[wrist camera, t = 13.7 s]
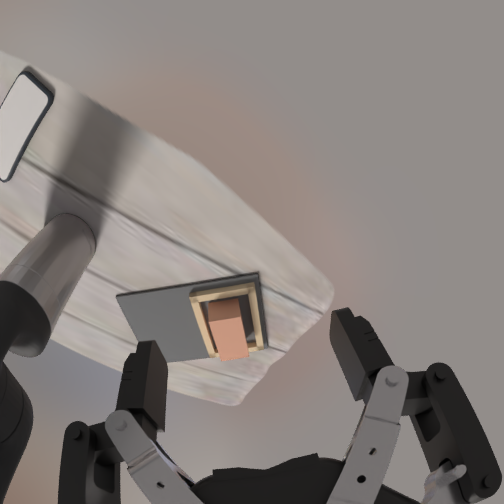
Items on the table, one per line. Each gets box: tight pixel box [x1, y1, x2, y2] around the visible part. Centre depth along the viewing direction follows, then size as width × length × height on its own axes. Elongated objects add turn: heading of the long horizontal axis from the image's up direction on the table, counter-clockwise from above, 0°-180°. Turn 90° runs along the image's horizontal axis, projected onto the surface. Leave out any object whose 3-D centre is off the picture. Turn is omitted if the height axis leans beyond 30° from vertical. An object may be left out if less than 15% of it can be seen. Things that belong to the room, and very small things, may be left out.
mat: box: [116, 273, 268, 362], centre depth 48 cm, size 24×18×2 cm
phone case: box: [0, 71, 54, 182], centre depth 27 cm, size 9×2×16 cm
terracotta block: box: [208, 298, 249, 361], centre depth 47 cm, size 10×5×4 cm, turn 7°
